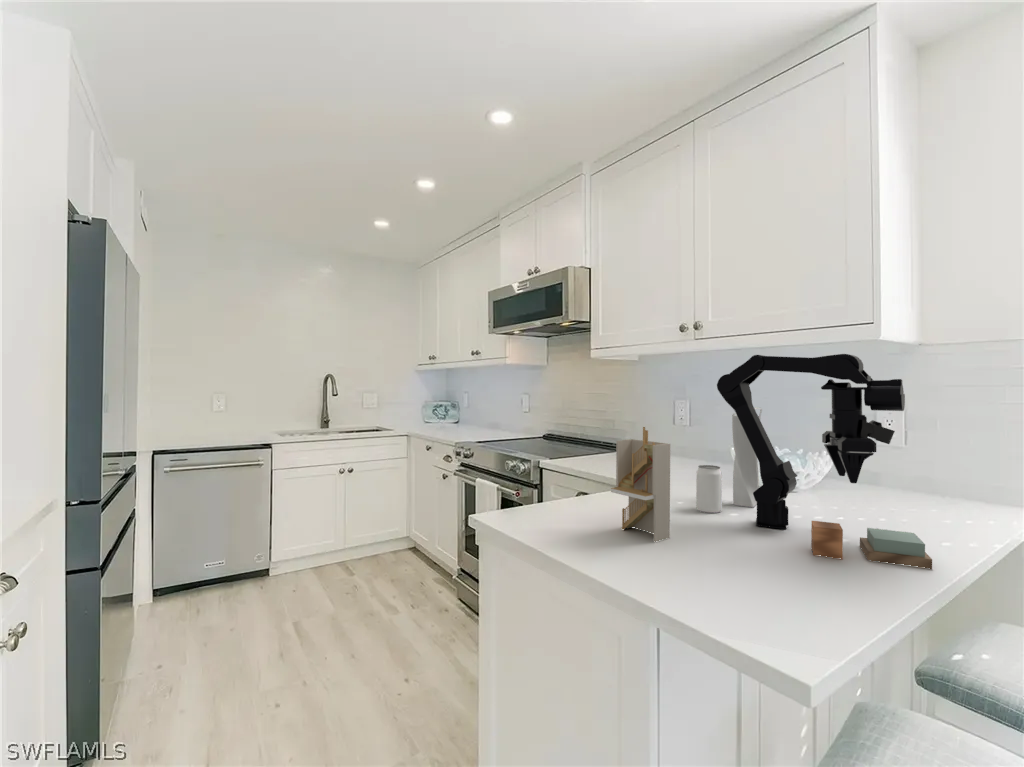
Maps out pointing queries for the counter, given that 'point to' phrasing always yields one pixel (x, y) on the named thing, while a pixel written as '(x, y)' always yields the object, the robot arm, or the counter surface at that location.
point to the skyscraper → (744, 466)
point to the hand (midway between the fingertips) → (847, 479)
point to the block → (827, 539)
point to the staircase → (644, 484)
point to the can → (709, 489)
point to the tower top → (895, 542)
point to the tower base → (894, 556)
